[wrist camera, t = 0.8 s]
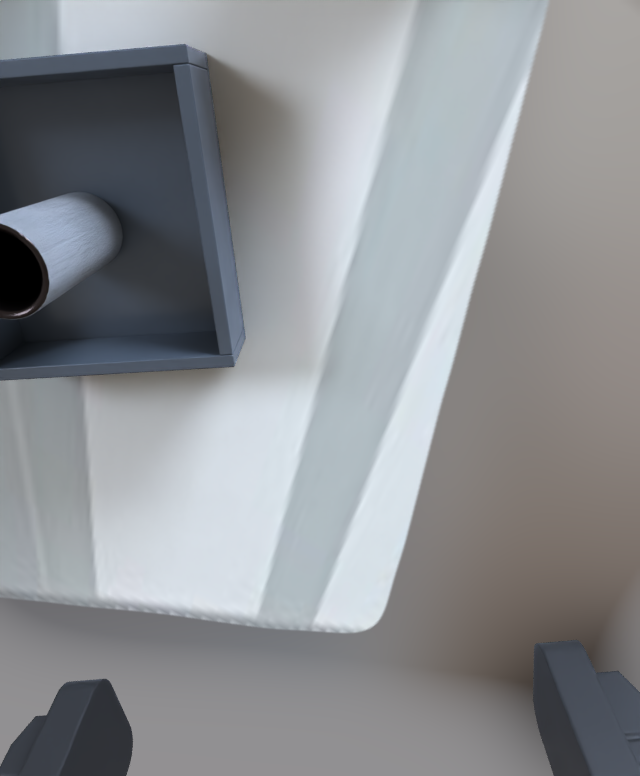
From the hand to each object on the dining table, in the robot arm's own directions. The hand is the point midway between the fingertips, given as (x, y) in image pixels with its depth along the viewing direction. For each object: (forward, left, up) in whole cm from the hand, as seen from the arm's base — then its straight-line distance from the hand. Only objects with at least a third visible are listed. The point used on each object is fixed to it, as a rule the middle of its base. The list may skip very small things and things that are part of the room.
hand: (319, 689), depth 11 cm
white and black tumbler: (-4, -15, -28) cm, 32 cm away
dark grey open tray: (-5, -14, -29) cm, 32 cm away
